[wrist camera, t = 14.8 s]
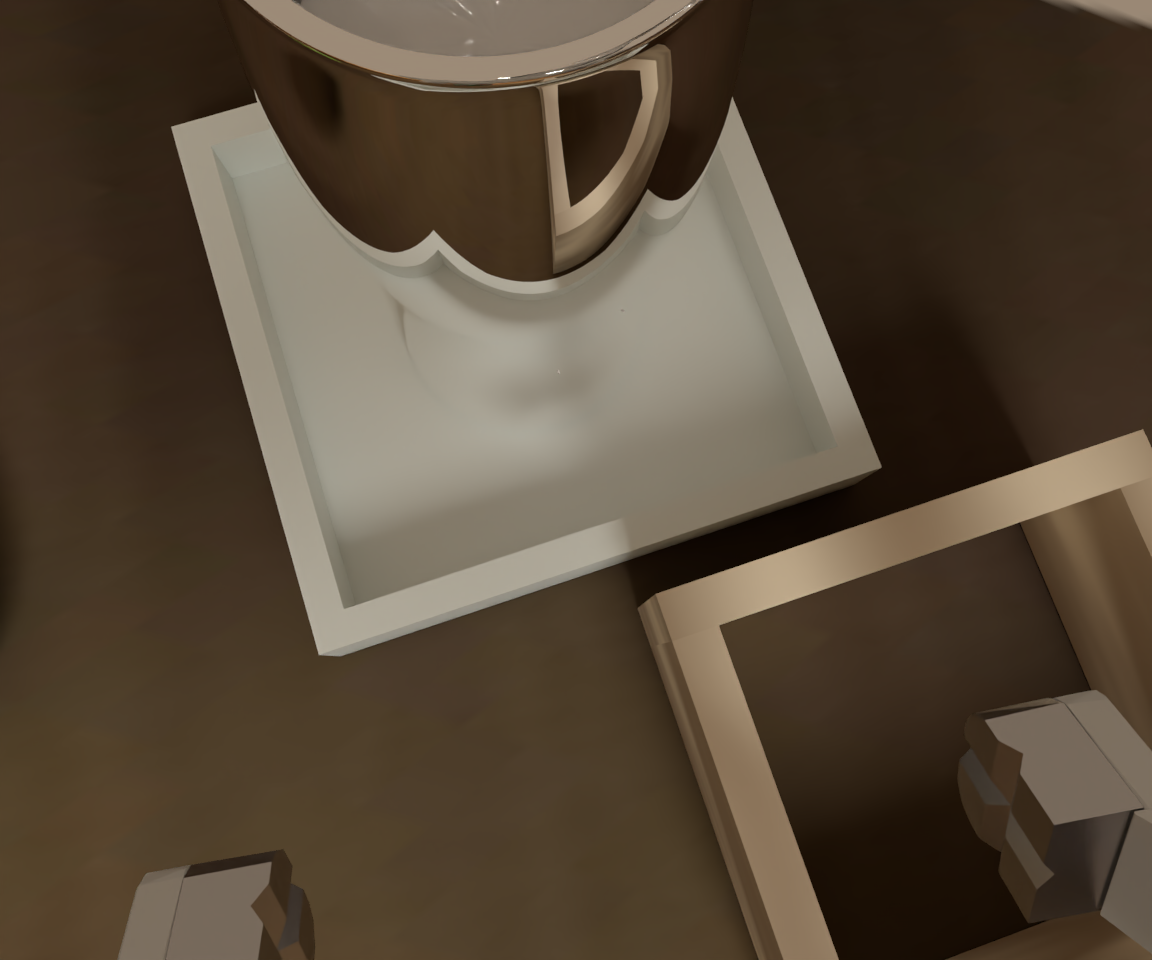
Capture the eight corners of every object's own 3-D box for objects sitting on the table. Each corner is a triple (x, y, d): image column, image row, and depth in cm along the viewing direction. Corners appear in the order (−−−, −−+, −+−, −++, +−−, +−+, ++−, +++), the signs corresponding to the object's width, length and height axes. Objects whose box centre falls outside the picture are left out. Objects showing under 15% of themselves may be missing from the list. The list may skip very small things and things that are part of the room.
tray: (675, 35, 27) (685, -20, 25) (853, 485, 25) (882, 467, 22) (203, 171, 26) (171, 127, 24) (341, 656, 24) (318, 654, 21)
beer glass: (340, 381, 24) (7, -64, 10) (460, 153, 26) (330, -548, 11) (591, 494, 24) (645, 210, 9) (700, 256, 25) (902, -327, 10)
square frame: (1038, 472, 25) (1142, 429, 20) (1226, 902, 23) (1386, 957, 18) (637, 608, 24) (655, 593, 20) (795, 1067, 22) (855, 1167, 18)
